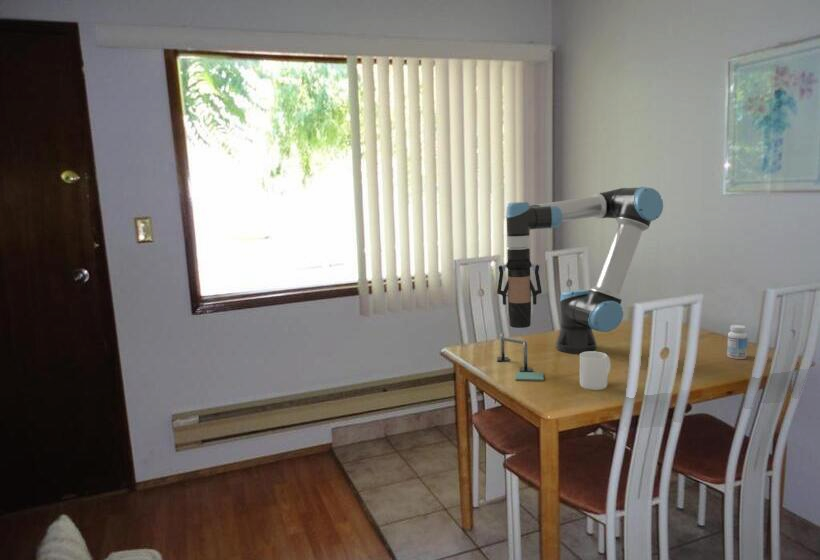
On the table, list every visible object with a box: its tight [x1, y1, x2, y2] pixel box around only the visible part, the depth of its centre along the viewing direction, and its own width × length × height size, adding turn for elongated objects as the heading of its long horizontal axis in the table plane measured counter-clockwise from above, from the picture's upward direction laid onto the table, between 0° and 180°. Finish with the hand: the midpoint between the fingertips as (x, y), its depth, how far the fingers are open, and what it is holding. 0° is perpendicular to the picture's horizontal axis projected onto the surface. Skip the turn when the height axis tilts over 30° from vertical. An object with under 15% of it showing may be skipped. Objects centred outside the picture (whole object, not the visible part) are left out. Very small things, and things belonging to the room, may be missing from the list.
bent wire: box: [496, 332, 533, 372], centre depth 199 cm, size 12×16×10 cm
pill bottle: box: [726, 324, 749, 360], centre depth 197 cm, size 6×6×11 cm
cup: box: [579, 350, 611, 391], centre depth 176 cm, size 8×12×10 cm
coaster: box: [515, 371, 545, 382], centre depth 187 cm, size 9×7×1 cm
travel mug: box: [507, 268, 532, 329], centre depth 191 cm, size 8×8×20 cm
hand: (519, 313), depth 192 cm, fingers closed on travel mug, 8 cm apart
